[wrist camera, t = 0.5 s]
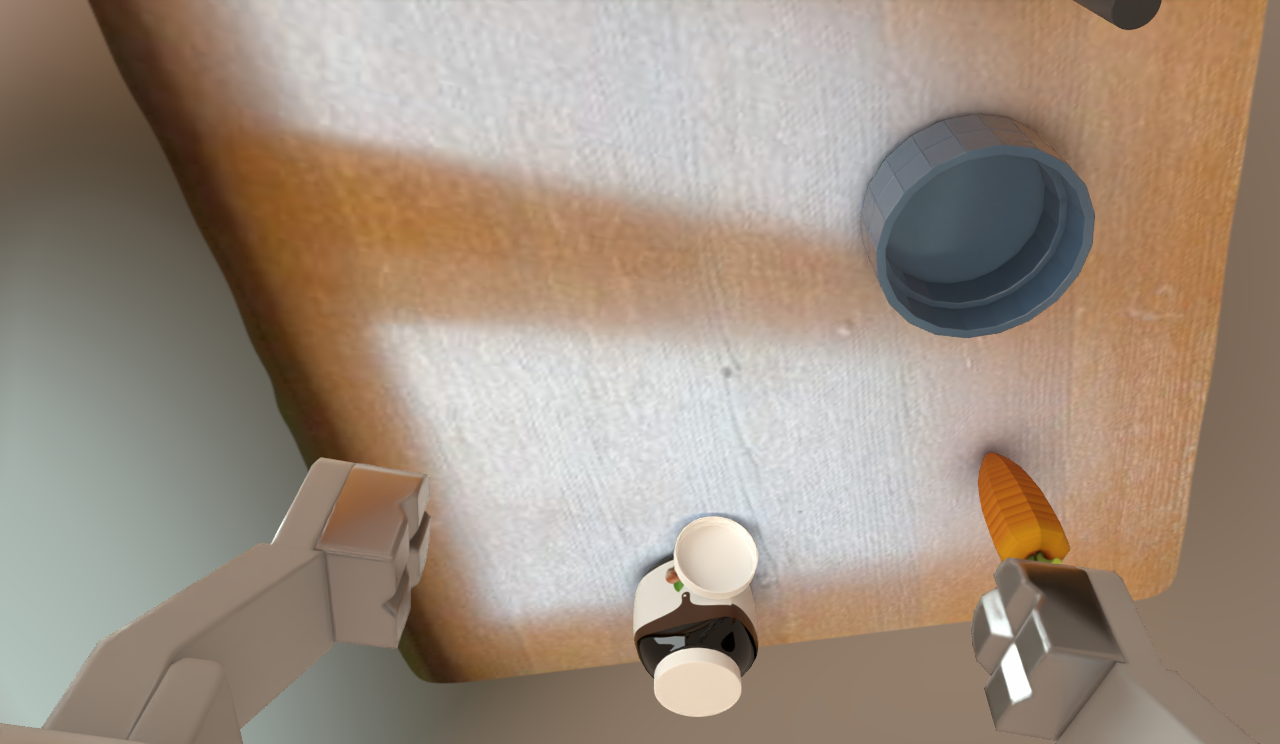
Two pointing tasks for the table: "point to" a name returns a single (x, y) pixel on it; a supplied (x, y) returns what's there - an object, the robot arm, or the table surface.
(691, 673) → the spread jar
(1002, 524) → the carrot
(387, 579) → the robot arm
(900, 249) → the bowl
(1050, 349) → the table surface
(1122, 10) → the black rod with base
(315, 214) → the table surface
